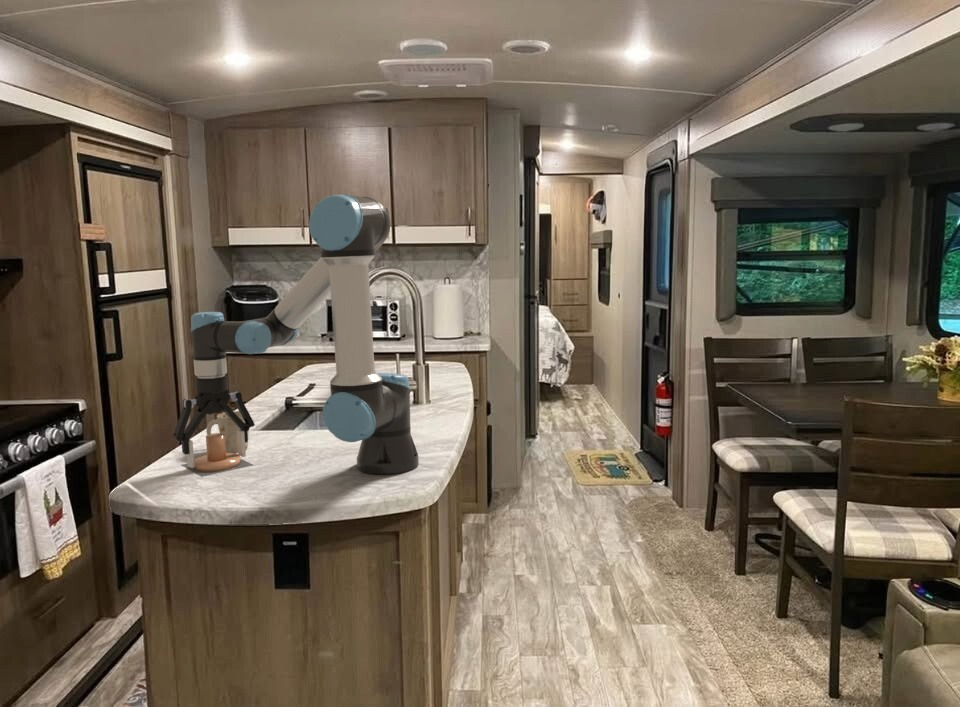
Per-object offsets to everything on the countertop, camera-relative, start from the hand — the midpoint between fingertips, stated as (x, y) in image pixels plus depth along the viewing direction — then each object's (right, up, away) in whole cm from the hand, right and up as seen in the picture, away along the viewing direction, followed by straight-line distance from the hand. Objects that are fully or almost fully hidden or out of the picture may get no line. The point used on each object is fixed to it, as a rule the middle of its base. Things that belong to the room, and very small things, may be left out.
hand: (217, 461), depth 184 cm
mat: (0, -1, 0) cm, 1 cm away
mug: (-2, 0, +14) cm, 15 cm away
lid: (0, -1, 0) cm, 1 cm away
